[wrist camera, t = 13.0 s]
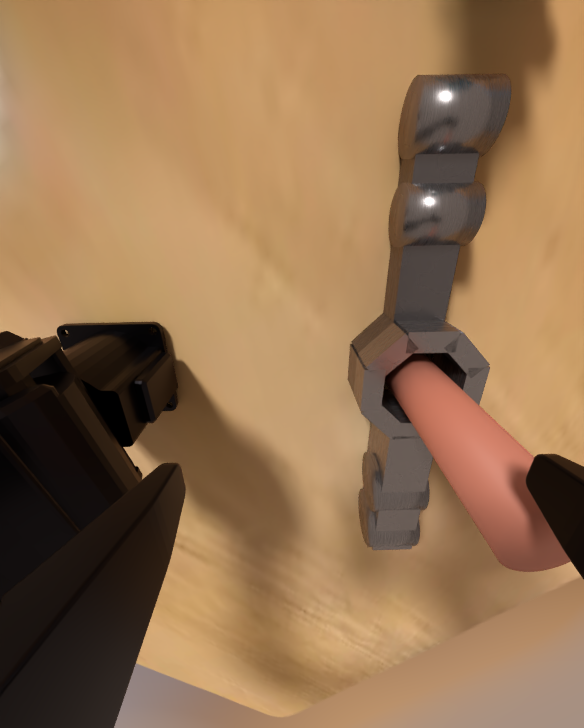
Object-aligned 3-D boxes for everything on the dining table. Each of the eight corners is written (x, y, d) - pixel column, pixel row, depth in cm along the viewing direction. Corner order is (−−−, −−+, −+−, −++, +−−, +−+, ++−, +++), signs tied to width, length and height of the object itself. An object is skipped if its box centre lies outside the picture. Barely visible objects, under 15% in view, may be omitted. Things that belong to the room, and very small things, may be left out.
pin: (374, 380, 21) (484, 573, 10) (379, 341, 20) (512, 507, 8) (416, 379, 21) (577, 570, 10) (423, 340, 20) (618, 504, 8)
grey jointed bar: (338, 512, 27) (346, 559, 23) (368, 91, 14) (397, 44, 11) (414, 510, 27) (436, 557, 23) (510, 89, 15) (590, 42, 11)
